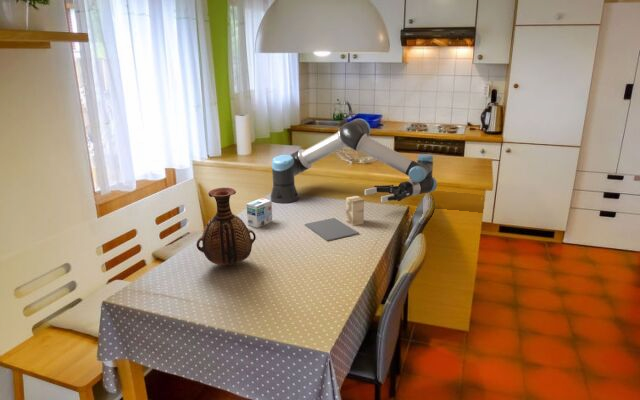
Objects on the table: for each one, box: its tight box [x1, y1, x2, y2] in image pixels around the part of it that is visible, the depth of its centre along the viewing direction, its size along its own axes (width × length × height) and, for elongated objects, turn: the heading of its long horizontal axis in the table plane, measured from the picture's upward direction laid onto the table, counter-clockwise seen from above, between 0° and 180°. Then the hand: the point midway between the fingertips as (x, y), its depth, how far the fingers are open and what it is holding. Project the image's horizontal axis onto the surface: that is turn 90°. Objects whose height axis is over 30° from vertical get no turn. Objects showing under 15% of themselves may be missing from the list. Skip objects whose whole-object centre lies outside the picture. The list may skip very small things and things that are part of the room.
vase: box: [196, 187, 257, 267], centre depth 176 cm, size 21×18×30 cm
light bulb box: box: [246, 197, 273, 229], centre depth 221 cm, size 11×7×11 cm, turn 143°
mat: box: [304, 217, 360, 242], centre depth 213 cm, size 22×16×1 cm
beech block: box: [345, 195, 365, 226], centre depth 220 cm, size 6×6×12 cm
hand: (373, 195), depth 222 cm, fingers open, 13 cm apart
